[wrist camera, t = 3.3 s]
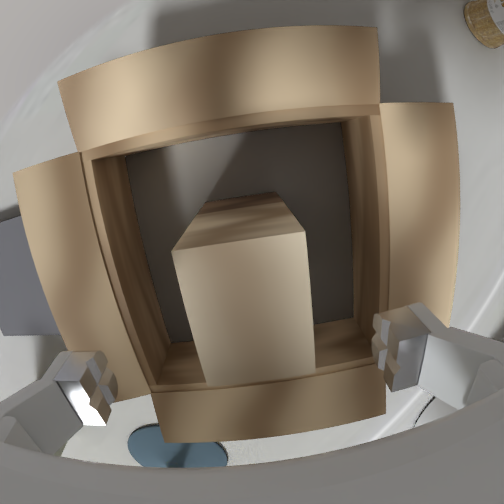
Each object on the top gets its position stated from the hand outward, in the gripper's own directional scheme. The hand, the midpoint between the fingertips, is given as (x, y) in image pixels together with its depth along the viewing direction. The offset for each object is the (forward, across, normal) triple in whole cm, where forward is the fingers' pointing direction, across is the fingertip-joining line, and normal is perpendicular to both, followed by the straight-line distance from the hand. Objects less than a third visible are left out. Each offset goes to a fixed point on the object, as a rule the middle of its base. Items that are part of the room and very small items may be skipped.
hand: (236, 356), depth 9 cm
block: (+13, +1, -1) cm, 13 cm away
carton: (+13, +1, -1) cm, 13 cm away
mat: (+13, -18, -1) cm, 22 cm away
